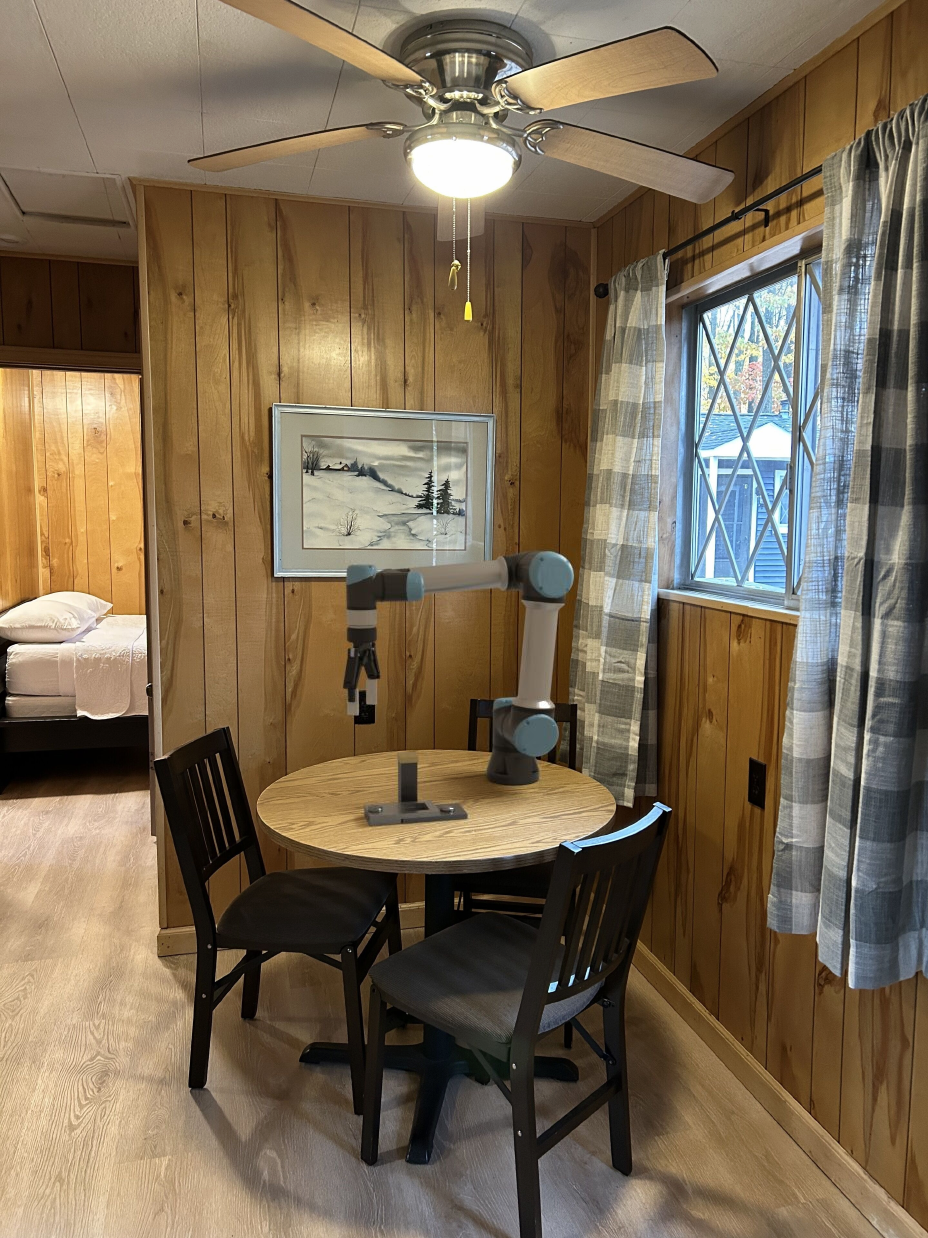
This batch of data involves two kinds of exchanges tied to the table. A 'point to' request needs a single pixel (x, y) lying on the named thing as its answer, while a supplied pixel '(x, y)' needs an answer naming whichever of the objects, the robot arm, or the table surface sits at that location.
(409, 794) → the link pin
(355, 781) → the table surface
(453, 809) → the plate
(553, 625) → the robot arm
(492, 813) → the table surface
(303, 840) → the table surface
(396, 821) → the plate
